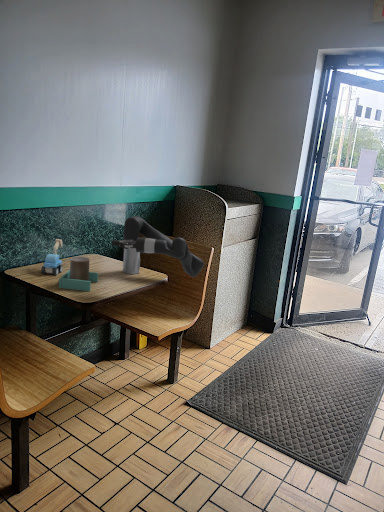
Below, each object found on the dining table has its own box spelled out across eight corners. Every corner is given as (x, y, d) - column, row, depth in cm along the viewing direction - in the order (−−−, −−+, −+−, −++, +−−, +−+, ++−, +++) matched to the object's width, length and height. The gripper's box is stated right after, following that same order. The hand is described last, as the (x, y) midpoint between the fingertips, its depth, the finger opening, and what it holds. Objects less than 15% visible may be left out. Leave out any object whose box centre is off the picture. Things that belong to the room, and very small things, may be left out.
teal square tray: (98, 281, 228) (98, 272, 227) (89, 291, 212) (90, 282, 210) (69, 278, 228) (70, 269, 227) (58, 288, 212) (59, 278, 211)
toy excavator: (67, 268, 245) (68, 239, 241) (55, 276, 229) (56, 245, 225) (52, 266, 246) (53, 237, 241) (40, 274, 229) (40, 243, 225)
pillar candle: (91, 285, 220) (93, 257, 217) (74, 288, 214) (75, 259, 211) (83, 280, 227) (84, 253, 224) (66, 282, 221) (67, 254, 218)
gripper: (143, 255, 208) (108, 252, 209) (147, 250, 221) (115, 247, 221) (144, 240, 206) (109, 237, 207) (148, 235, 219) (115, 233, 220)
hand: (112, 242), depth 214 cm, fingers closed
